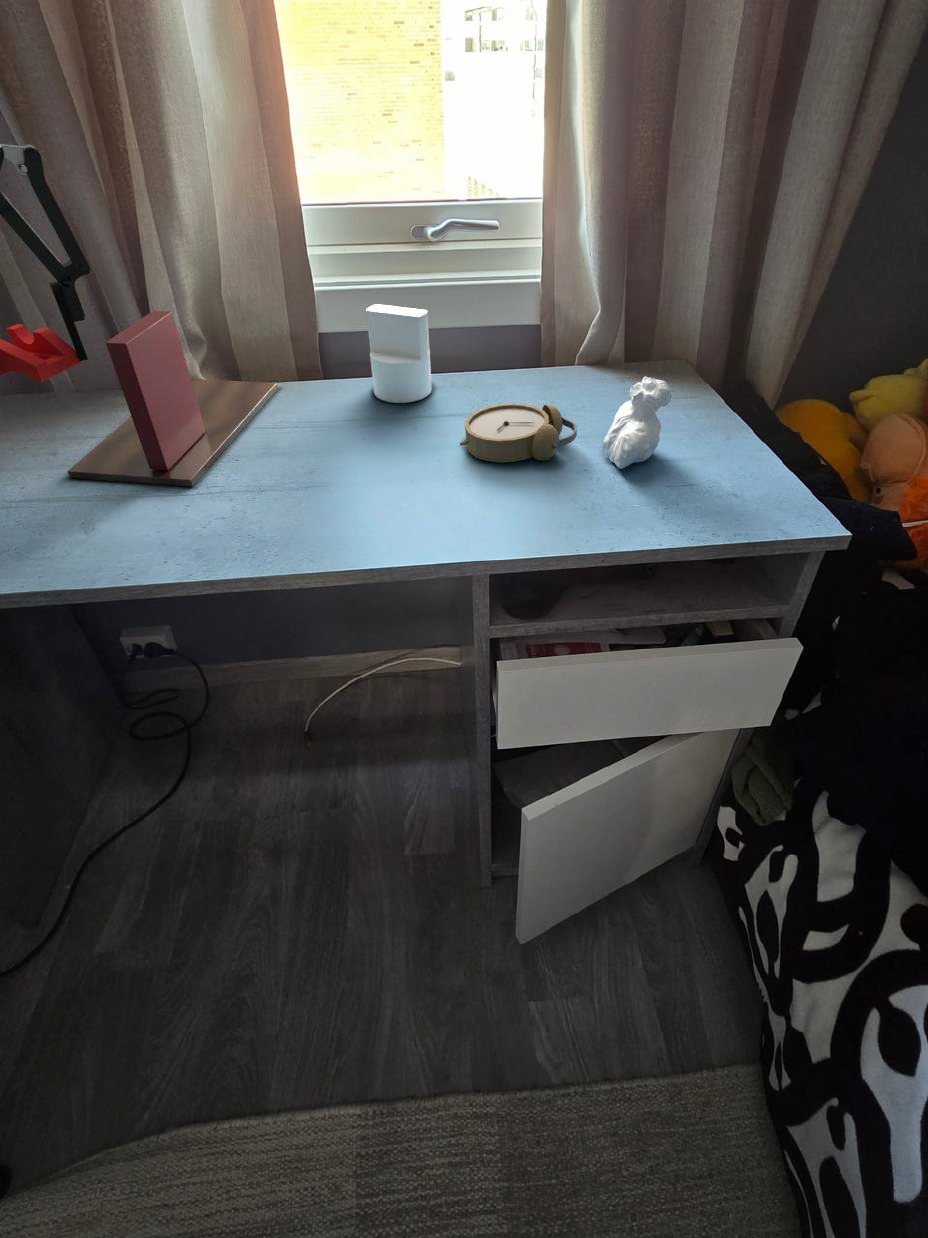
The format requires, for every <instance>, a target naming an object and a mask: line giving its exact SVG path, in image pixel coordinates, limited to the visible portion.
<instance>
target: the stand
mask: <svg viewBox="0 0 928 1238" xmlns="http://www.w3.org/2000/svg"><path fill="white" fill-rule="evenodd" d="M195 379H196V380H195ZM199 379H200V380H199ZM191 381H192V385H193V389H194V392H195V396H196V399H197V403H198V407H199V410H200V414H201V417H202V421H203V424H204V428H205V432H204V433H203V434H202V435H201V436H200V437H199V439H198V440H197V441H196V442H195V443H194V444H193V445H192V446H191V447H190V448H189V449H188V450H187V451H186V452H185V453H184V454H183V455H182V456H181V457H180V458H179V460H178V461H177V462H176V463H175V464H174V465H173V466H172V467H171V468H170V469H169V470H168V471H167V470H154V469H150V468H149V465H148V462H147V459H146V456H145V454H144V451H143V448H142V445H141V442H140V439H139V436H138V434H137V431H136V428H135V425H134V422H133V419H132V417H131V416H130V417H129V418H128V419H126V420H125V421H124V422H123V423H122V424H121V425H119V426H118V427H116V429H115V430H114V431H113V432H111V433H110V434H109V435H108V436H106V437H105V438H104V439H103V440H102V441H100V442H99V443H98V444H97V445H96V446H95V447H94V448H92V449H91V450H90V451H89V452H88V453H87V454H86V455H84V456H83V457H82V458H81V459H79V461H77V462H76V463H75V464H74V465H73V466H71V468H69V469H68V470H67V474H68V477H69V478H70V479H78V480H79V479H80V480H81V479H82V480H94V481H106V482H121V483H122V482H123V483H137V484H147V485H148V484H150V485H163V486H178V487H191V488H193V487H195V485H196V484H197V482H198V481H199V480H200V479H201V478H202V477H203V476H204V475H205V474H206V472H208V470H209V469H210V468H211V466H212V465H213V464H215V462H216V461H217V460H218V459H219V457H220V456H221V455H222V454H223V453H224V452H225V450H227V448H228V447H229V446H230V445H231V444H232V442H233V441H234V440H235V439H236V438H237V437H238V436H239V434H240V433H241V432H242V431H243V430H244V429H245V428H246V426H248V424H249V423H250V422H251V420H252V419H253V418H254V417H255V416H256V415H257V414H258V412H259V411H260V410H261V409H262V408H263V407H264V405H266V403H267V402H268V401H269V400H270V399H271V397H273V395H274V394H275V393H276V392H277V390H278V384H277V382H264V381H243V380H242V381H241V380H223V379H205V378H203V379H202V378H191Z"/></svg>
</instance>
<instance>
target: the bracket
mask: <svg viewBox="0 0 928 1238" xmlns="http://www.w3.org/2000/svg"><path fill="white" fill-rule="evenodd" d="M6 330H7V333H8V335H9V337H10V339H11V342H12V343H10V342H8V341H6V340H4V339H3V338H0V376H2V375H4V374H6V373H9V372H12V373H18V374H23V375H24V374H25V375H28V376H29V378H30V380H31V381H35V382H41V383H43V382H44V381H46V380H49V379H51V378H53V377H55V376H57V375H59V374H61V373H63V372H65V371H67V370H69V369H71V368H73V367H75V366H77V365H79V364H81V363H82V361H80V360H79V357H78V355H77V352H76V351H75V348H74V347H72V346H71V345H69V344H68V343H67V342H66V341H65V340H64V339H63V338H61V336H59V335H58V334H57V333H56V332H55V331H54V330H52V329H51V328H48V327H40V328H38V329H36V330H34V331H31V333H32V334H31V333H30V332H29V331H28V329H27V327H26V325H25V324H20V323H17V324H14V325H11V326H9V327H7V328H6Z"/></svg>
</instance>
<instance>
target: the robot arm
mask: <svg viewBox="0 0 928 1238" xmlns="http://www.w3.org/2000/svg"><path fill="white" fill-rule="evenodd" d="M4 160H5V161H9V162H10V163H11V164H12V165H13V167H14V169H15V171H16V172H17V173H18V174H19V175H20V176H21V177H27V180H28V182H29V185H30V187H31V189H32V191H33V193H34V194H35V196H36V198H37V200H38V202H39V204H40V205H41V208H42V209H43V211H44V213H45V215H46V217H47V219H48V221H49V222H50V224H51V226H52V228H53V230H54V233H55V234H56V235H57V238H58V240H59V241H60V243H61V246H62V248H63V249H64V251H65V252H66V254H67V257H68V258H69V260H67V261H65V262H64V263H63V262H61V261H60V259H59V258H58V257H57V256H56V255H55V253H53V251H52V250H51V249H50V247H49V245H47V244H46V243H45V242H44V240H43V239H42V238H41V236H40V235H39V234H38V232H36V231H35V230H34V228H33V227H32V226H31V225H30V223H29V222H28V221H27V220H26V219H25V218H24V216H23V215H22V214H21V212H19V210H18V209H17V208H16V207H15V205H13V203H12V202H11V201H10V199H9V198H8V197H7V196H6V194H5V193H4V192H3V191H2V190H1V189H0V216H1V217H2V218H3V220H4V221H5V222H6V223H7V224H8V225H9V227H10V228H11V229H12V230H13V232H15V234H16V235H17V236H18V237H19V239H21V240H22V242H23V243H24V244H25V245H26V246H27V248H28V249H29V250H30V252H31V253H33V254H34V255H35V257H36V258H37V259H38V261H39V262H40V263H41V264H42V265H43V266H44V267H45V268H46V270H47V271H48V272H49V273H50V274H51V276H52V277H53V278H54V279H55V280H56V281H50V282H48V284H49V287H50V289H51V291H52V294H53V297H54V300H55V302H56V304H57V307H58V310H59V313H60V315H61V317H62V320H63V322H64V326H65V328H66V331H67V333H68V337H69V338H70V341H71V343H72V346H73V349H74V350H75V351H76V352H77V355H78V357H79V360H80V362H85V361H88V360H89V357H88V355H87V353H86V350H85V347H84V345H83V342H82V340H81V337H80V334H79V331H78V329H77V326H76V324H75V323H76V322H81V321H85V317H86V313H85V311H84V308H83V306H82V302H81V300H80V298H79V295H78V292H77V289H76V286H75V284H76V281H77V280H78V279H80V278H81V277H83V276H87V275H89V274H90V272H91V267H90V265H89V263H88V260H87V258H86V257H85V255H84V252H83V251H82V249H81V247H80V244H79V243H78V241H77V239H76V237H75V236H74V233H73V231H72V229H71V227H70V226H69V224H68V221H67V220H66V218H65V216H64V214H63V212H62V210H61V208H60V206H59V203H58V202H57V200H56V198H55V196H54V195H53V193H52V191H51V189H50V186H49V185H48V182H47V180H46V177H45V169H44V165H43V159H42V156H41V153H40V152H39V151H38V149H37V148H36V146H34V145H32V144H30V143H26V144H24V145H23V146H22V145H13V144H7V143H6V144H5V143H0V173H1V171H2V167H3V164H4Z"/></svg>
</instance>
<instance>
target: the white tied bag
mask: <svg viewBox="0 0 928 1238" xmlns="http://www.w3.org/2000/svg"><path fill="white" fill-rule="evenodd" d="M671 399H672V392H671V388H670V386H669V384H668V382H666V381H665V380H662V379H656V378H653V377H652V376H650V377H648V376H643V378H642V380H641V382H640V381H638V382H636V384H634V385H631V387H630V389H629V400H627V401H626V402H624V403H623V404H622V405H621V406H620V407H619V408H618V410H617V412H616V413H615V416H614V418H613V422H612V424H611V426H610V427H609V429H608V432H607V433H606V436H605V437H604V439H603V444H604V449H605V451H606V454H607V455H608V457H609V461H610V462H611V463H614V464H615V466H616V467H617V468H618V469H621V470H622V469H624V468H627V467H628V466H630V465H631V464H634V463H641V462H646V461H647V460H649V458H650V457H651V456H652V455H653V453H654V451H655V450H656V449H657V447H658V445H659V442H660V434H661V429H662V424H661V421H660V419H659V418H658V416H657V413H656V412H658V410H659V409H661V407H666V406H667V405H669V404H670V402H671V401H672V400H671Z"/></svg>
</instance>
